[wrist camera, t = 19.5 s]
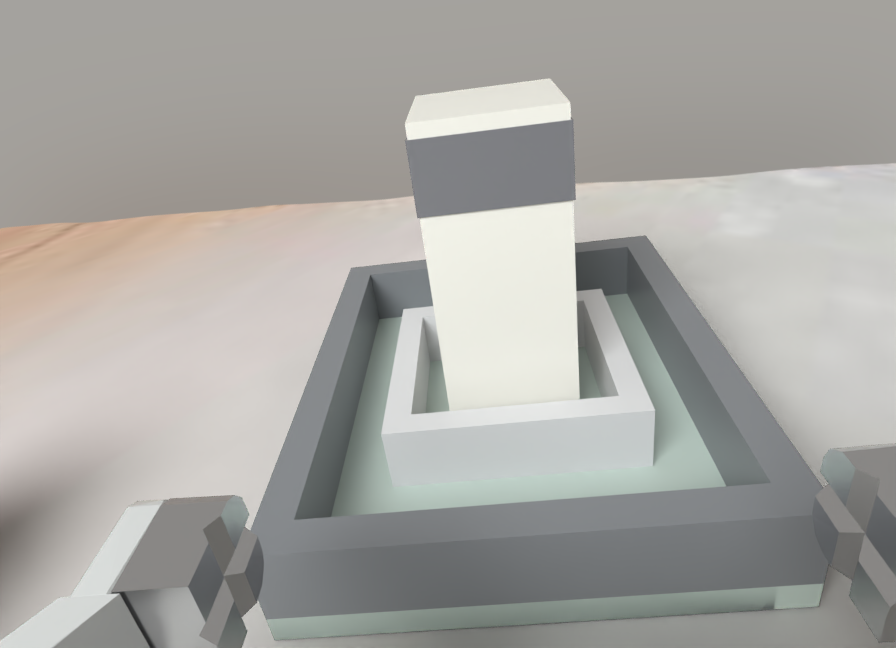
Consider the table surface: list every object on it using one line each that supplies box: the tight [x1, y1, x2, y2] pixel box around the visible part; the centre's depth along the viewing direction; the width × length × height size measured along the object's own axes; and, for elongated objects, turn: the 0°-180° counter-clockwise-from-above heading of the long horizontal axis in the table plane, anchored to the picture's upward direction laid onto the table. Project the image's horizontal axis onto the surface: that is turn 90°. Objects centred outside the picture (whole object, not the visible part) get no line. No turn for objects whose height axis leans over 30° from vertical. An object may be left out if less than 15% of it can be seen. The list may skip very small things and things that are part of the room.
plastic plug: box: [405, 79, 580, 411], centre depth 19 cm, size 4×4×10 cm
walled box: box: [250, 236, 829, 640], centre depth 21 cm, size 13×16×3 cm
